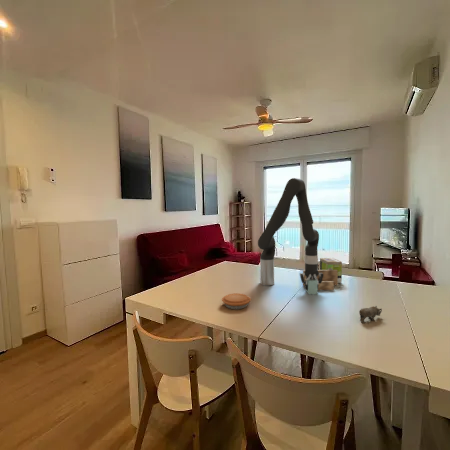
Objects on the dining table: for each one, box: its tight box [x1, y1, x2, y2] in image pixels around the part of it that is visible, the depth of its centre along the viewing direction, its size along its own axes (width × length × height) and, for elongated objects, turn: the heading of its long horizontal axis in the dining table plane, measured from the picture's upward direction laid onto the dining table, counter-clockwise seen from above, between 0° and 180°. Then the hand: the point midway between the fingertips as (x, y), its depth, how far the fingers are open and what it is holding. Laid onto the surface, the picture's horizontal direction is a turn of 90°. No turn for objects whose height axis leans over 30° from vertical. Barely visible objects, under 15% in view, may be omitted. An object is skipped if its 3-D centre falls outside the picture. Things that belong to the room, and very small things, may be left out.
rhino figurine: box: [359, 305, 383, 324], centre depth 114 cm, size 4×14×6 cm, turn 111°
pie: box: [221, 292, 252, 310], centre depth 135 cm, size 16×16×5 cm
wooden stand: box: [302, 269, 339, 291], centre depth 162 cm, size 22×10×10 cm, turn 88°
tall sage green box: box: [305, 276, 318, 295], centre depth 152 cm, size 5×6×10 cm
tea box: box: [319, 257, 343, 284], centre depth 177 cm, size 15×10×15 cm, turn 179°
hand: (311, 289), depth 153 cm, fingers closed on tall sage green box, 5 cm apart
